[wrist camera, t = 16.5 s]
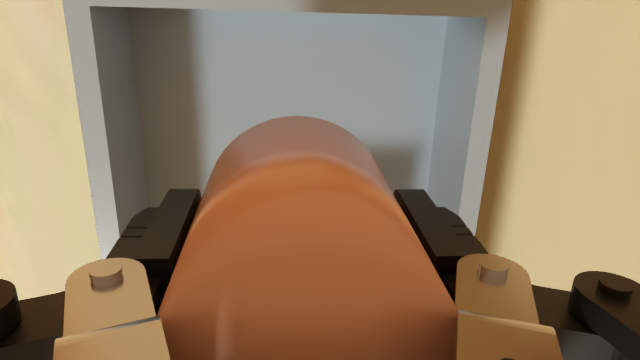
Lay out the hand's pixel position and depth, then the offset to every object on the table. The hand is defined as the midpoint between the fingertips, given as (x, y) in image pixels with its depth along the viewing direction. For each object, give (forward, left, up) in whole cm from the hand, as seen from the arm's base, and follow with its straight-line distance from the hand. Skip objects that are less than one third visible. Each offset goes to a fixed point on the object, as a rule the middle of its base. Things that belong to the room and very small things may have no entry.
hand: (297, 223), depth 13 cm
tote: (0, +4, -10) cm, 11 cm away
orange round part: (0, 0, -1) cm, 1 cm away
